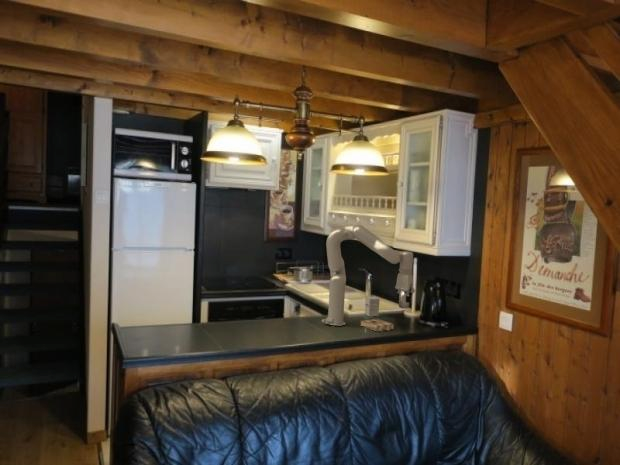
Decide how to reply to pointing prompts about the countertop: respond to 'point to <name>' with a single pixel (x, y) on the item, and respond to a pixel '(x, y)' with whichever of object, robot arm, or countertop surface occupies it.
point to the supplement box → (372, 306)
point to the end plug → (403, 299)
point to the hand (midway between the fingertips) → (404, 301)
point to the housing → (377, 325)
